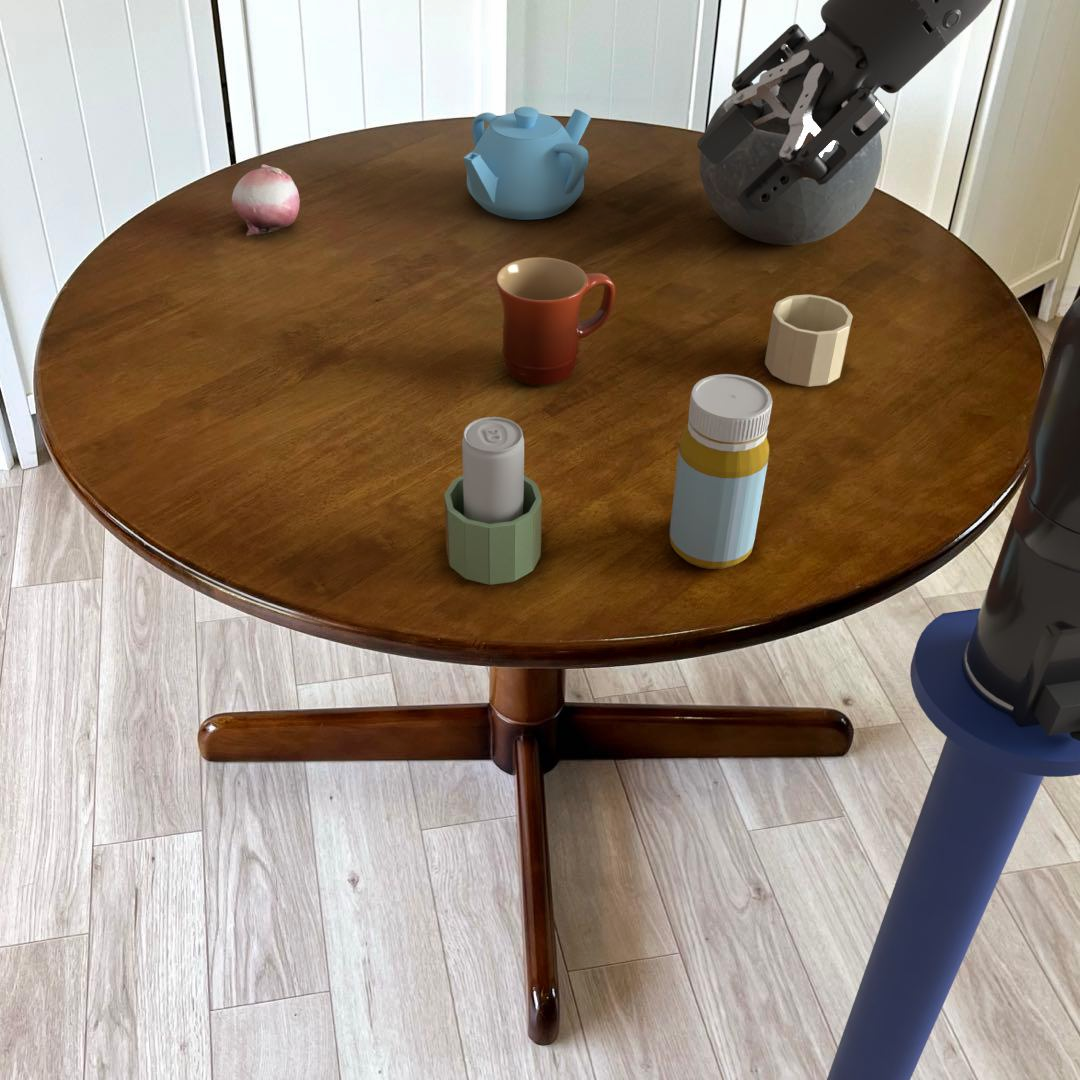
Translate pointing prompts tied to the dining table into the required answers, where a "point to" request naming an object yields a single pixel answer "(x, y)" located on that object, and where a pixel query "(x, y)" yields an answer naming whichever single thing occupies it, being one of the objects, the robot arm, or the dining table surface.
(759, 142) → the bowl
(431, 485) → the dining table surface
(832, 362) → the holder
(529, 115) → the teapot
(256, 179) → the onion
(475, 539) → the holder
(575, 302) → the mug
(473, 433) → the beverage can
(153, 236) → the dining table surface
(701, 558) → the bottle
